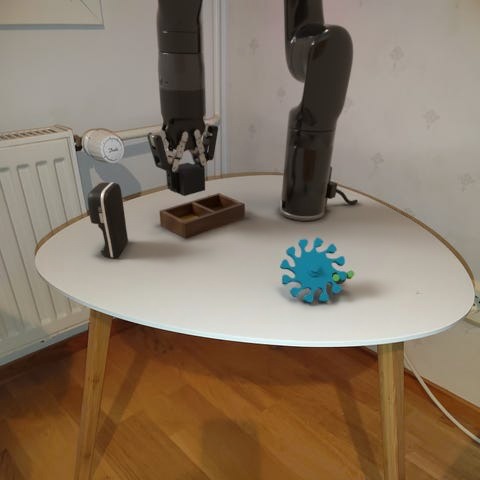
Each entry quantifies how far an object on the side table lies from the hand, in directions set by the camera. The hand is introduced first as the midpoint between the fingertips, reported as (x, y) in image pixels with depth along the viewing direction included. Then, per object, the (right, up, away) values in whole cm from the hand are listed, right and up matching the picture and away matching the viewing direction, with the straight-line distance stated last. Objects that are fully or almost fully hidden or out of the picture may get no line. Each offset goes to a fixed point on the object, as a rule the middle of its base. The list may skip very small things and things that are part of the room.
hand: (186, 187), depth 78 cm
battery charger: (-13, -12, -4) cm, 18 cm away
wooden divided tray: (+3, -5, +7) cm, 9 cm away
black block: (0, 0, 0) cm, 0 cm away
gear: (+21, -21, -13) cm, 32 cm away
